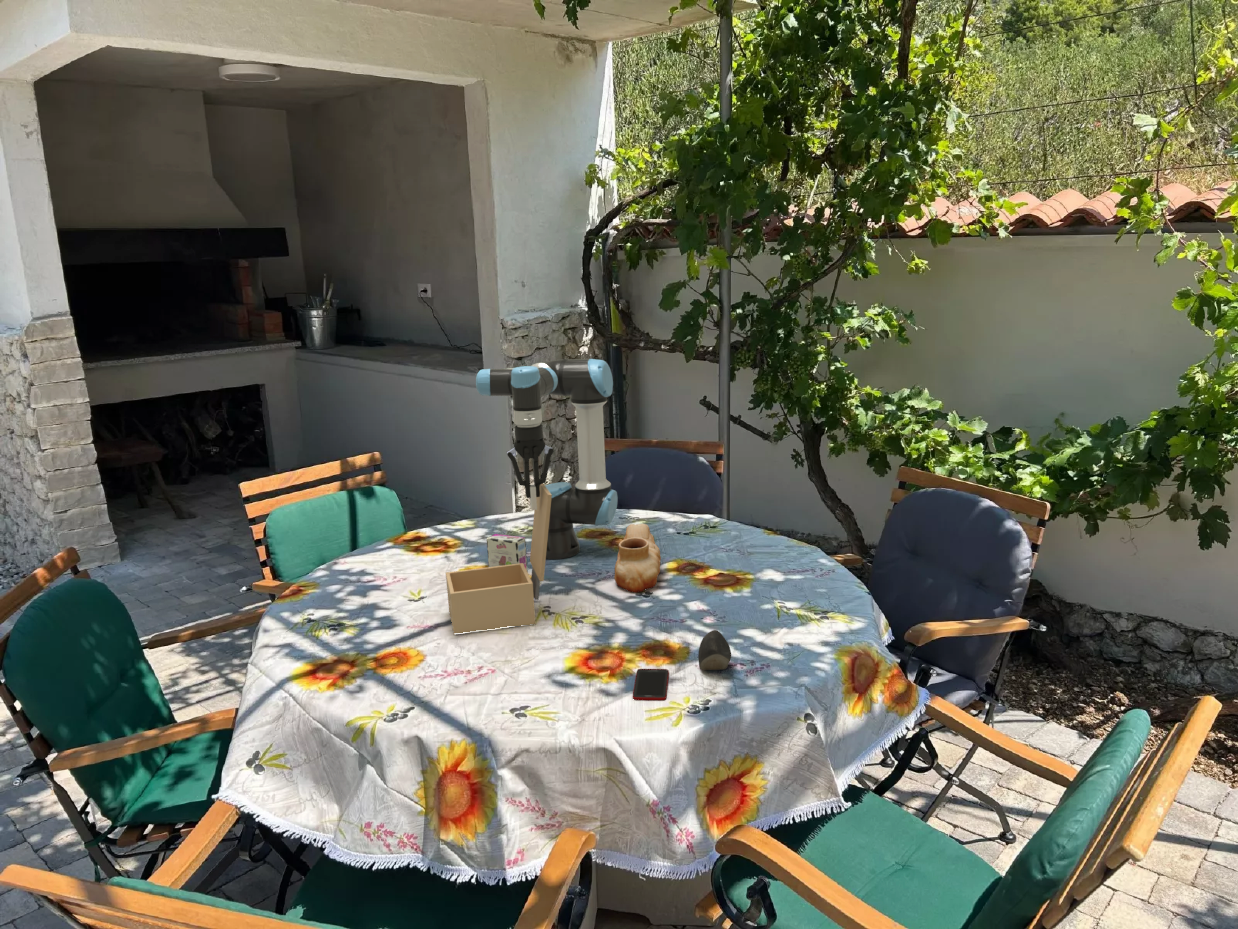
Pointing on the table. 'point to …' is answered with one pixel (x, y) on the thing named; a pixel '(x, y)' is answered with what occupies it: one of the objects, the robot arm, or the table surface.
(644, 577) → the ceramic vessel
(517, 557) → the candy bar box
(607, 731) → the table surface
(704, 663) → the stone
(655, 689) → the cell phone
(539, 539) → the lid
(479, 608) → the carton
